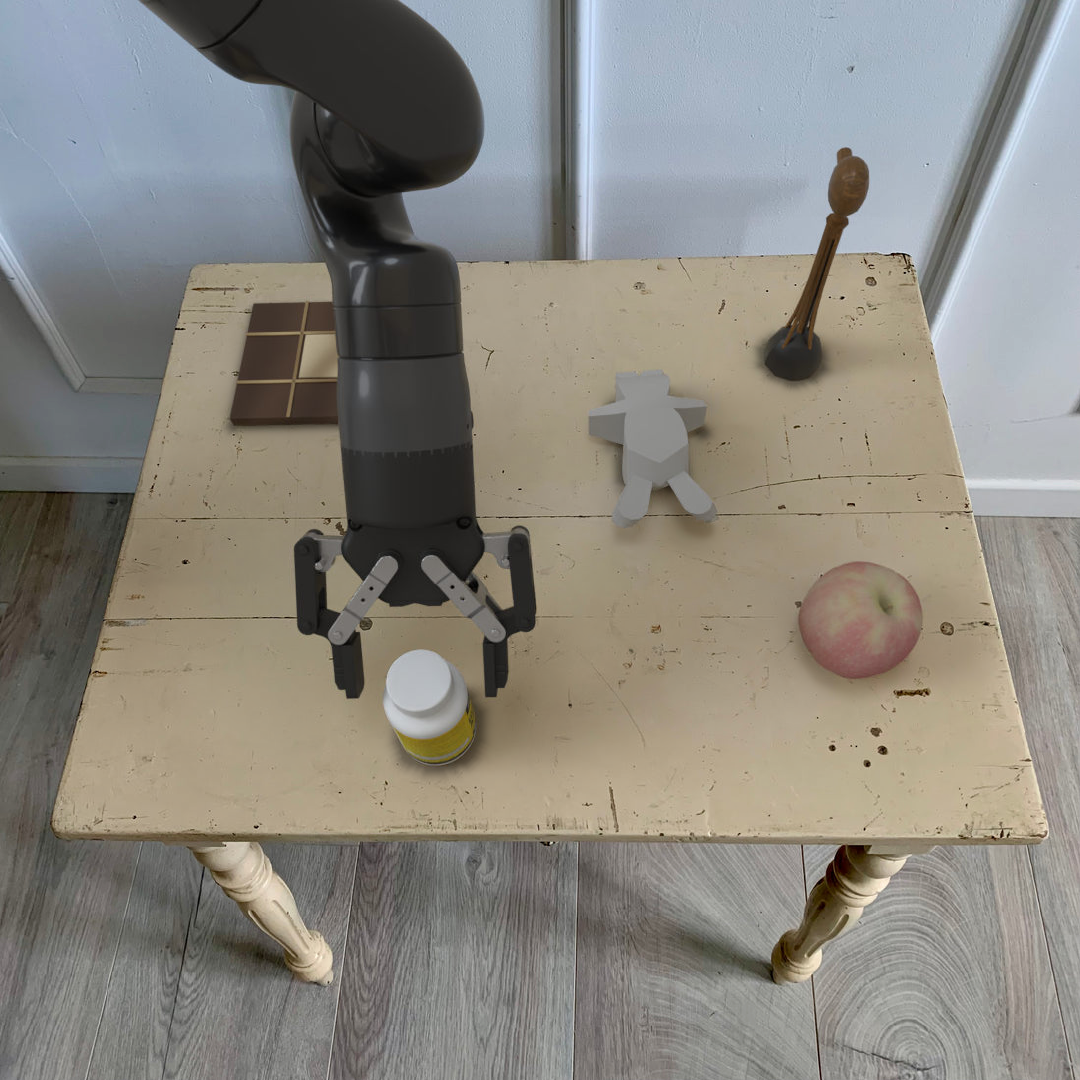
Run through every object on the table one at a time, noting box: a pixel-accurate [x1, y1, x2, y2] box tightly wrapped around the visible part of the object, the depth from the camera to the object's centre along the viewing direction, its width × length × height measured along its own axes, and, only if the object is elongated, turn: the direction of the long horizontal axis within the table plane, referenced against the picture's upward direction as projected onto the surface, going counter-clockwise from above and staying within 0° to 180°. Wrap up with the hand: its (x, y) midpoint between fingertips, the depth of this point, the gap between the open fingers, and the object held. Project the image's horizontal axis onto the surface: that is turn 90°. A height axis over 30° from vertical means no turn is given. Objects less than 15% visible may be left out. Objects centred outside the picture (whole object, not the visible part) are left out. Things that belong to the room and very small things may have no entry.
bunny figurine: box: [587, 368, 718, 529], centre depth 70 cm, size 10×5×15 cm
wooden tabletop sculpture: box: [763, 146, 870, 382], centre depth 68 cm, size 6×5×20 cm
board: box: [229, 300, 339, 426], centre depth 78 cm, size 16×13×1 cm
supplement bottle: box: [382, 648, 477, 767], centre depth 58 cm, size 5×5×10 cm
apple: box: [797, 560, 924, 680], centre depth 61 cm, size 8×8×8 cm
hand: (424, 692), depth 55 cm, fingers open, 8 cm apart
